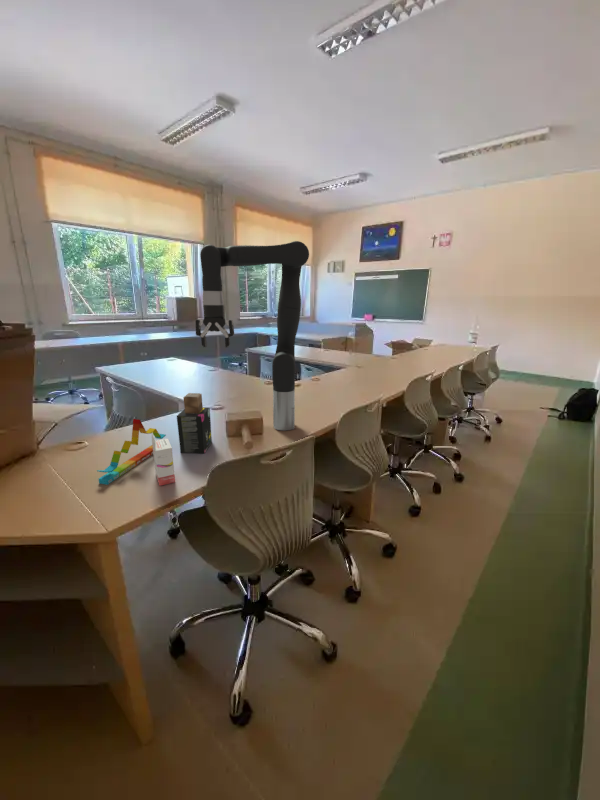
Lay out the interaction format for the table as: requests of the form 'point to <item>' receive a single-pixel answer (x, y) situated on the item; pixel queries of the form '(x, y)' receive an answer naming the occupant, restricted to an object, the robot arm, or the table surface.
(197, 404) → the walnut block
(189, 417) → the tampon box
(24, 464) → the table surface
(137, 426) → the chart
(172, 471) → the ink cartridge box
